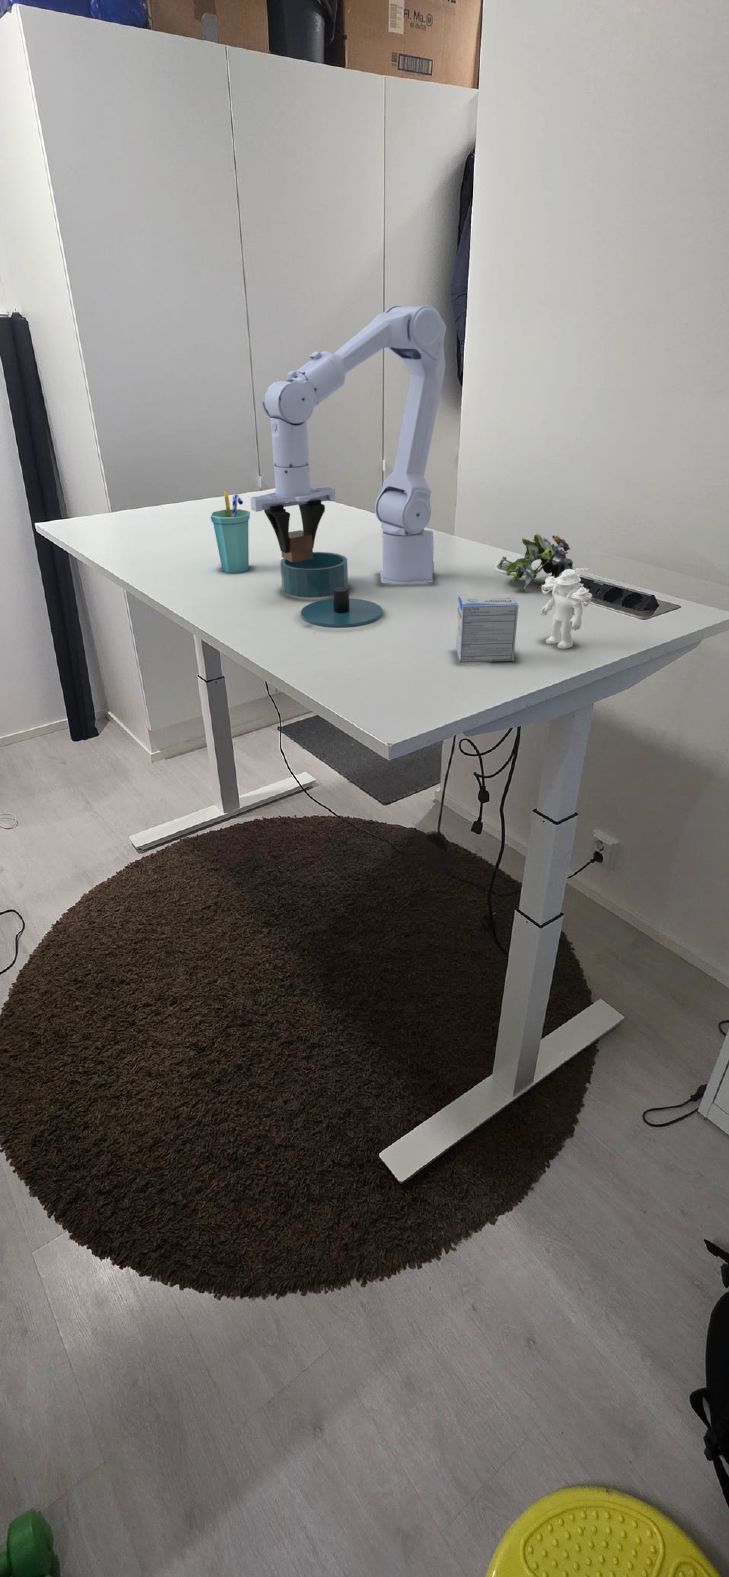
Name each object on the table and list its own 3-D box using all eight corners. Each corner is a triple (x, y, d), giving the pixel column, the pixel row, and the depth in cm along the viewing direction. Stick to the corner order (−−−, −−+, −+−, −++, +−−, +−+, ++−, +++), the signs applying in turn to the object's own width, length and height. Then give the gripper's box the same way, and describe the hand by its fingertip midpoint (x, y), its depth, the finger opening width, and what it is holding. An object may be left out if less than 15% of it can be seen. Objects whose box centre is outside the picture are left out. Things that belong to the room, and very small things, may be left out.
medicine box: (508, 651, 120) (513, 593, 115) (514, 662, 116) (519, 603, 111) (455, 652, 120) (457, 594, 115) (459, 663, 116) (462, 604, 111)
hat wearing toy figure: (590, 650, 119) (601, 569, 113) (570, 655, 118) (580, 573, 112) (549, 632, 126) (557, 554, 120) (529, 637, 125) (537, 558, 118)
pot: (348, 580, 152) (347, 551, 149) (347, 600, 142) (346, 569, 139) (285, 581, 152) (283, 552, 149) (280, 601, 142) (278, 570, 139)
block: (302, 553, 141) (301, 530, 139) (313, 558, 138) (312, 534, 136) (281, 557, 139) (280, 533, 137) (292, 562, 136) (290, 538, 134)
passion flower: (552, 614, 150) (595, 567, 141) (512, 615, 143) (555, 567, 135) (522, 568, 154) (562, 520, 145) (482, 567, 147) (522, 517, 139)
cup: (267, 576, 155) (261, 494, 147) (228, 582, 152) (219, 499, 144) (245, 559, 166) (238, 482, 158) (208, 564, 163) (199, 486, 155)
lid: (381, 603, 140) (381, 576, 137) (383, 630, 128) (383, 601, 126) (303, 605, 140) (302, 578, 137) (298, 631, 128) (297, 602, 126)
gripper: (260, 473, 124) (267, 561, 131) (342, 463, 131) (345, 548, 138) (242, 466, 130) (250, 552, 137) (322, 457, 136) (325, 539, 143)
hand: (296, 549), depth 138 cm, fingers closed on block, 4 cm apart
